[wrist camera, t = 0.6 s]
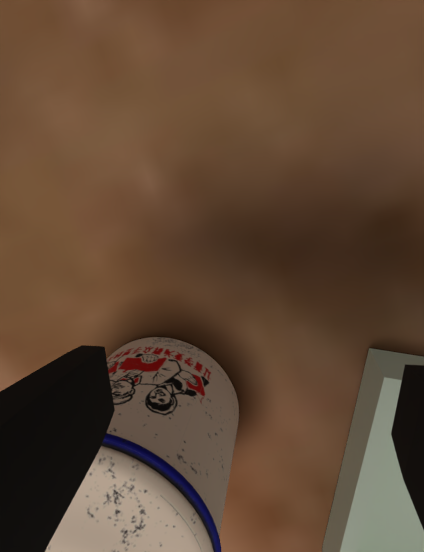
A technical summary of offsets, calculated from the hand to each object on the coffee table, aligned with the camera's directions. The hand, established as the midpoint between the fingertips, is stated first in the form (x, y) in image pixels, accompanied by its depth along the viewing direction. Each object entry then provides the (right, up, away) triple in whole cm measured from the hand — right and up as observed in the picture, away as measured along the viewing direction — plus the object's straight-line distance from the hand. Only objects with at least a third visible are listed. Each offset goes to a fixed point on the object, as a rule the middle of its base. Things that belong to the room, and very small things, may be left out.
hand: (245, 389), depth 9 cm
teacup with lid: (-5, -5, +13) cm, 15 cm away
